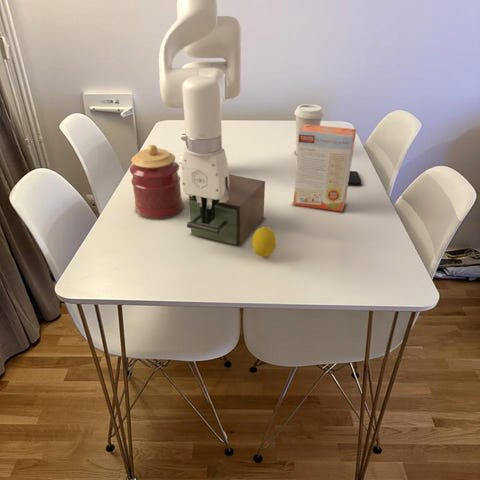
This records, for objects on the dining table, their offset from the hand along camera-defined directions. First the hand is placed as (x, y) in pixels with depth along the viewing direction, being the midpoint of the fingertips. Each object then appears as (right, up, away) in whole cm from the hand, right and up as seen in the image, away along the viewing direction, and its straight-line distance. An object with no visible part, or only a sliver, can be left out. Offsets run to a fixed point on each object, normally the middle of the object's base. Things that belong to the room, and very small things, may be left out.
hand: (208, 221), depth 109 cm
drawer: (+3, -1, +9) cm, 9 cm away
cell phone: (+36, +21, +35) cm, 54 cm away
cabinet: (+5, +1, +12) cm, 13 cm away
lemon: (+13, -8, +1) cm, 16 cm away
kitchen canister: (-15, +8, +20) cm, 26 cm away
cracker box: (+30, +9, +22) cm, 39 cm away
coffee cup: (+30, +35, +52) cm, 70 cm away
